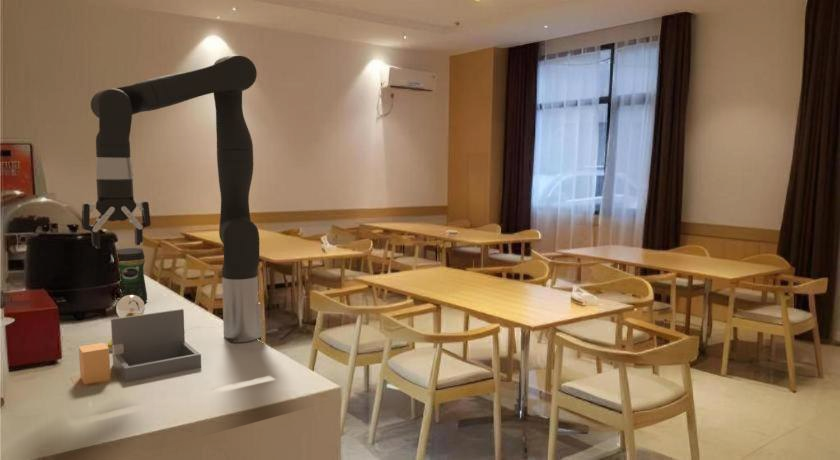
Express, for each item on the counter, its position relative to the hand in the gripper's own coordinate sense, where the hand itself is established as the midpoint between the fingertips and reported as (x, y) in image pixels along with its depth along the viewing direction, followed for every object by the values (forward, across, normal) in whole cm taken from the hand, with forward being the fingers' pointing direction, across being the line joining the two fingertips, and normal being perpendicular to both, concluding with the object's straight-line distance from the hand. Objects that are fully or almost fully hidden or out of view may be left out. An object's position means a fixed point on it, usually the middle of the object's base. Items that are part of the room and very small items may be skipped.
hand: (118, 246), depth 140 cm
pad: (+28, +8, +11) cm, 31 cm away
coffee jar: (+28, -15, -61) cm, 69 cm away
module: (+27, +8, +11) cm, 30 cm away
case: (+28, -5, +11) cm, 31 cm away
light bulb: (+28, -6, -19) cm, 35 cm away
